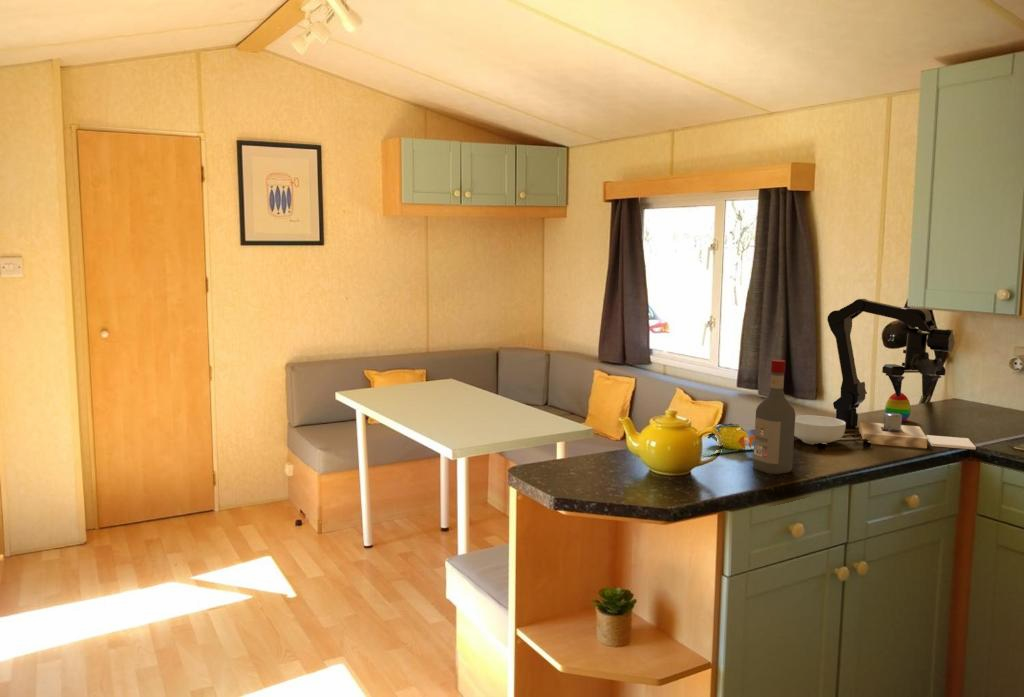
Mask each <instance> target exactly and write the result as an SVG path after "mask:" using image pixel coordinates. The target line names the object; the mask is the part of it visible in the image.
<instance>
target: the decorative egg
mask: <svg viewBox="0 0 1024 697" xmlns="http://www.w3.org/2000/svg"><path fill="white" fill-rule="evenodd" d="M911 406H912V405H911V402H910V400H909V398H908V397H907V396H906V395H905V394H904V393H903V392H901V394H900V397H898V396H897V395H896V393H895V392H894V393H893V394H891V395H890V396H889V397H888V399H887V401H886V402H885V407H884V412H885V413H896V414H901V415H902V421H901V423H904V422H906V421H907V420H908V419H909V418H910V415H911V411H912V410H911V409H912V408H911ZM885 413H884V414H885Z"/></svg>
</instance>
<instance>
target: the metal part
mask: <svg viewBox="0 0 1024 697" xmlns="http://www.w3.org/2000/svg"><path fill="white" fill-rule="evenodd" d="M901 421H902V415H901V414H896V413H884V418H883V424H884V428H883V431H886V432H899V433H901V425H902V422H901Z"/></svg>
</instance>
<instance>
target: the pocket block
mask: <svg viewBox="0 0 1024 697" xmlns="http://www.w3.org/2000/svg"><path fill="white" fill-rule="evenodd" d="M858 425H859V426H858V433H859V435H860V434H861V436H862V438H863V439H867V440H869V441H870V443H871V444H870V445H880V446H881V445H882V446H894V447H895V446H896V447H906V448H915V449H918V448H919V449H927V448H928V439H927V437H926V435H925V433H924V432H923V430H922V429H921V427H920V426H917V425H906V424H905V425H904V424H901V433H899V432H886V431H883V428H884V423H879V422H867V421H859V422H858ZM861 436H860V437H861Z"/></svg>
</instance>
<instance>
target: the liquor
mask: <svg viewBox="0 0 1024 697" xmlns="http://www.w3.org/2000/svg"><path fill="white" fill-rule="evenodd" d="M770 366H771V367H770V372H771V373H770V388H769V389H770V390H769V392H768V395H767V396H766V397H765V398H764V399H763V400H762V401H761V402H760V403H759V404H758V405H757V407H756V409H755V422H754V436H755V437H754V440H753V446H754V450H753V457H752V467H753V468H754V470H757V471H760V472H763V473H766V474H771V475H772V474H773V475H781V474H785V473H790V472H792V470H793V464H794V463H793V461H794V460H793V459H794V442H795V436H794V430H795V416H796V411H795V408H794V406H793V405H792V404H791V403H790V402H789V400H788V399H787V398H786V396H785V391H784V386H785V385H784V382H785V373H786V360H784V359H772V360H771V364H770Z"/></svg>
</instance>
